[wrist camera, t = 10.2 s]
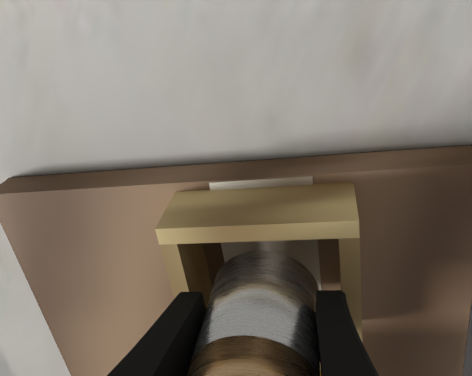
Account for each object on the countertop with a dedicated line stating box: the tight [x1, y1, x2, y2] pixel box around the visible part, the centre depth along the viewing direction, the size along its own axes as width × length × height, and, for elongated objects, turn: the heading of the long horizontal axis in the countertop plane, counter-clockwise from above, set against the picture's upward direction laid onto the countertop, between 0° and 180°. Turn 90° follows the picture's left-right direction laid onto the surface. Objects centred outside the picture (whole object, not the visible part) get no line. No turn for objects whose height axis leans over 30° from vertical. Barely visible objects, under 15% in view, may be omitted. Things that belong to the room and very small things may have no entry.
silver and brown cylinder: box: [187, 250, 320, 376], centre depth 11 cm, size 3×3×5 cm
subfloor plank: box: [0, 145, 472, 376], centre depth 16 cm, size 15×13×3 cm
